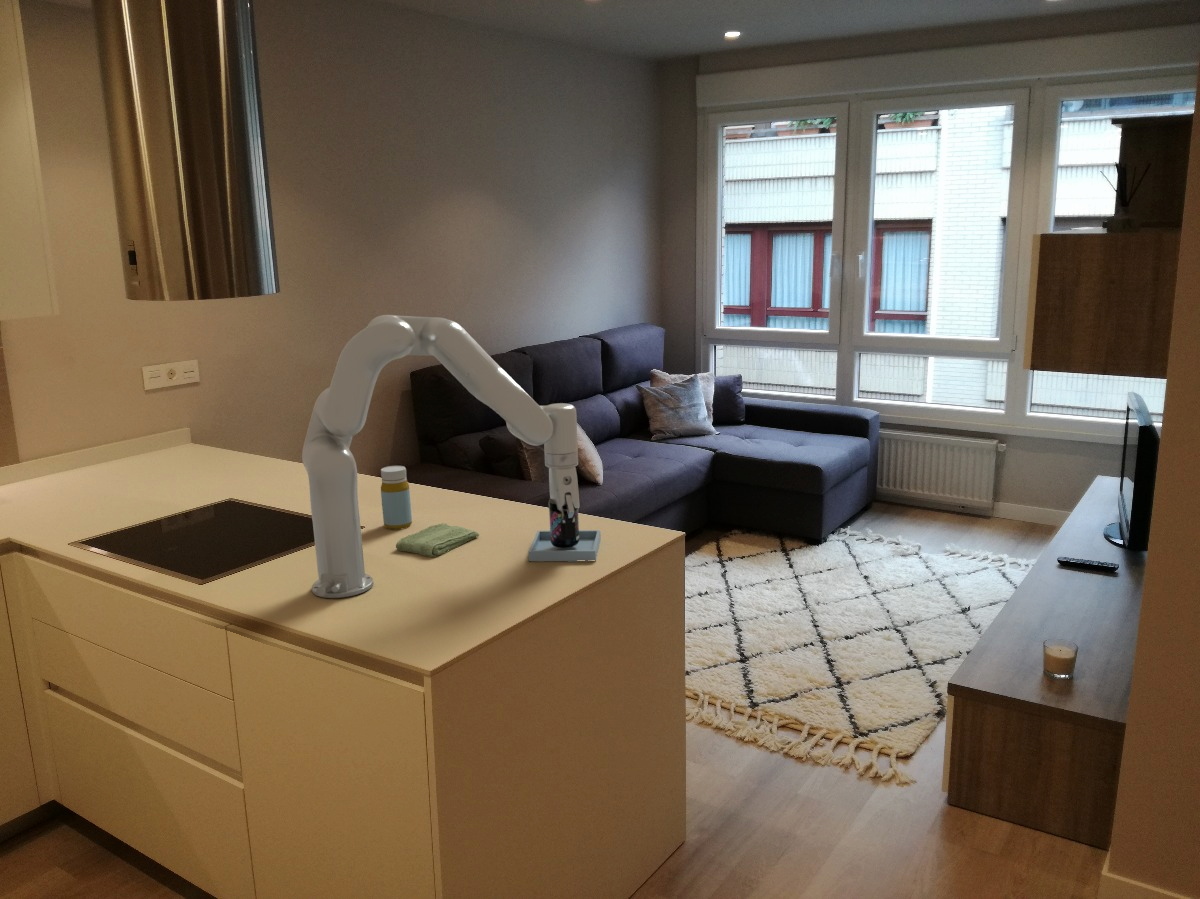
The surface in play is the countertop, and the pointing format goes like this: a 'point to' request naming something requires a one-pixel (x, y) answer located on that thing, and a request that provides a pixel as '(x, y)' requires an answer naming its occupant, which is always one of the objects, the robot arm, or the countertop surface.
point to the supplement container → (556, 527)
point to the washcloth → (436, 539)
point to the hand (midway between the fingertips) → (564, 533)
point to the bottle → (395, 497)
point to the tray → (581, 551)
